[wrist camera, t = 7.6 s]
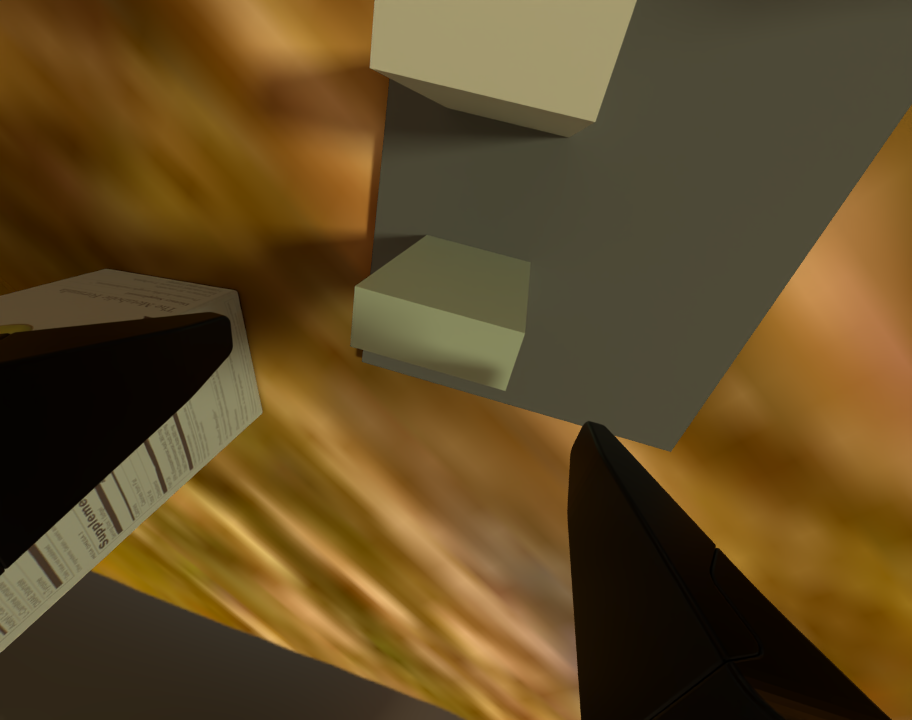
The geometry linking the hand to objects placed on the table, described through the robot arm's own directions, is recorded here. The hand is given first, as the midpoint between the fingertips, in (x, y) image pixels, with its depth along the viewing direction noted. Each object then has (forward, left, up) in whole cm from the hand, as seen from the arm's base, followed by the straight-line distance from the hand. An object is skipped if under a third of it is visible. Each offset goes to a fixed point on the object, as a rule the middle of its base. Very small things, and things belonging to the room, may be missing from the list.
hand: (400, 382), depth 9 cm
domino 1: (0, -7, -10) cm, 13 cm away
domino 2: (0, 0, -10) cm, 10 cm away
